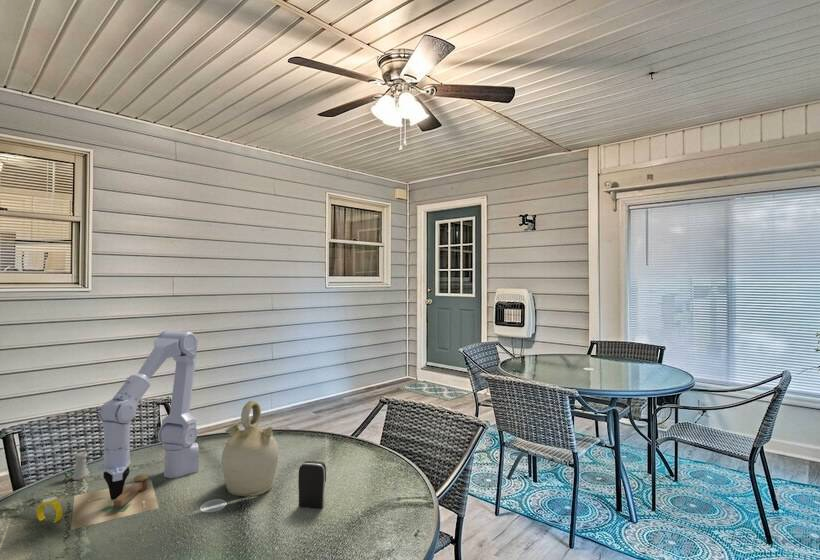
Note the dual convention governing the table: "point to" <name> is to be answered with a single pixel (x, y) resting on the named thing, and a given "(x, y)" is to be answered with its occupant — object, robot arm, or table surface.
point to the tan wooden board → (110, 506)
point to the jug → (249, 456)
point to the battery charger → (312, 484)
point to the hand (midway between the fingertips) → (116, 498)
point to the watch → (54, 503)
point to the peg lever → (132, 490)
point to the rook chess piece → (80, 466)
